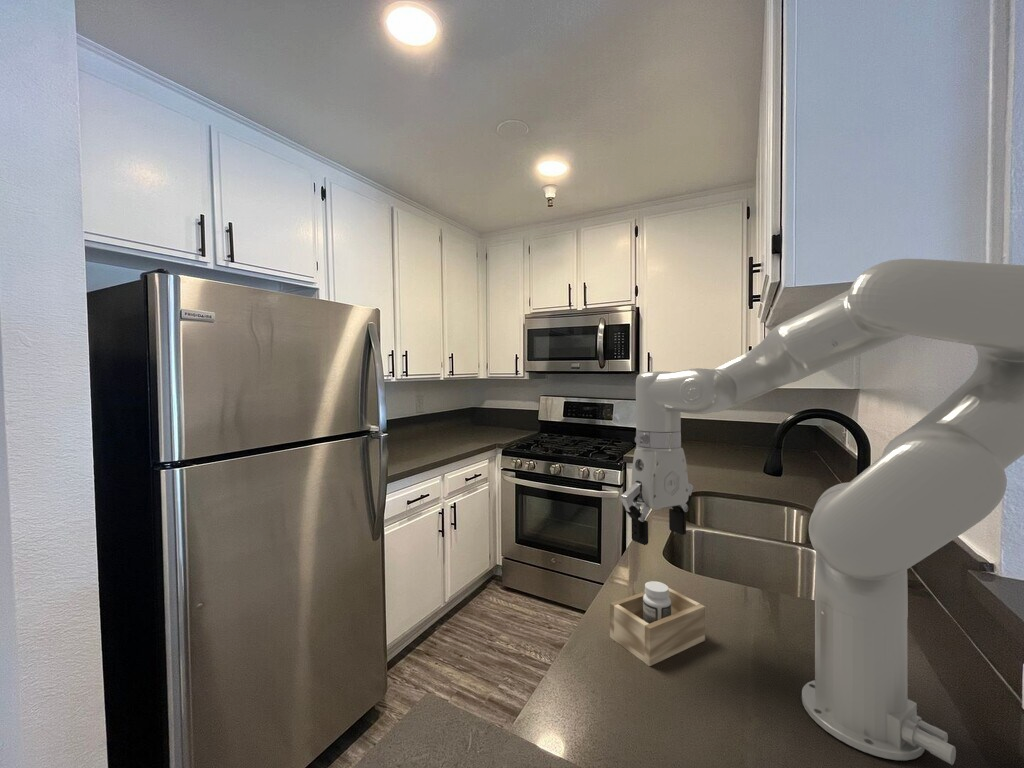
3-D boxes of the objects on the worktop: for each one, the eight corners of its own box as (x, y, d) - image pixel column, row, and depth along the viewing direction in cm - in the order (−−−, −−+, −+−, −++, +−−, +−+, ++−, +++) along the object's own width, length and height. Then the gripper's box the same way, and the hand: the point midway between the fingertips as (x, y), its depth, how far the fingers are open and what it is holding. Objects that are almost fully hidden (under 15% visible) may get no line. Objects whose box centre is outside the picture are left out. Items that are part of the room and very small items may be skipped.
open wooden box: (704, 640, 73) (705, 606, 73) (649, 666, 66) (649, 628, 66) (663, 615, 81) (663, 585, 81) (609, 636, 74) (610, 603, 74)
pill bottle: (668, 626, 76) (667, 580, 76) (674, 642, 71) (674, 593, 71) (641, 624, 76) (640, 579, 76) (645, 640, 72) (645, 591, 72)
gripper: (639, 446, 67) (640, 554, 66) (707, 439, 75) (709, 535, 75) (607, 441, 73) (608, 539, 73) (673, 436, 82) (674, 523, 81)
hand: (659, 537), depth 74 cm, fingers open, 9 cm apart
